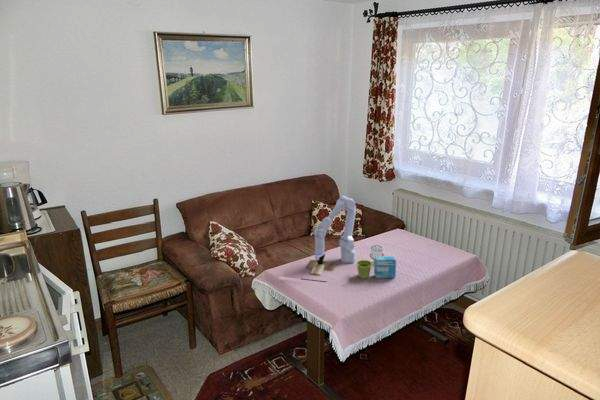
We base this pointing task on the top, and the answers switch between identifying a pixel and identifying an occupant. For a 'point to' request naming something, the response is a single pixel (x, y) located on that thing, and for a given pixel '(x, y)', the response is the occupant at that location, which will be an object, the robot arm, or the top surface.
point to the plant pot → (364, 268)
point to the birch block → (318, 269)
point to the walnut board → (328, 265)
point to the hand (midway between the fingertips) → (320, 265)
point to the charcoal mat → (314, 280)
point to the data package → (385, 267)
